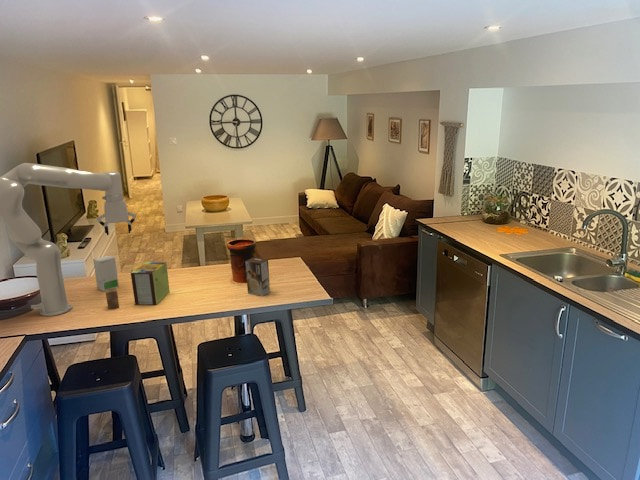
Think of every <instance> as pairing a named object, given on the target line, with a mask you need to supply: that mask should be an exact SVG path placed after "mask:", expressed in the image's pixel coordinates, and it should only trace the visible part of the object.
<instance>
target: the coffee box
mask: <svg viewBox="0 0 640 480" xmlns="http://www.w3.org/2000/svg"><path fill="white" fill-rule="evenodd" d="M245 262H246V275H247V284H246V285H247V286H246V287H247V293H248V294H251V295H256V296H261V297H264V296H265V295H268V294H269V293H271V288H270V284H271V283H270V273H269V270H270V269H269V259H265V258H257V257H254V258H251V259H249V260H247V261H245Z"/></svg>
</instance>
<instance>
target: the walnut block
mask: <svg viewBox="0 0 640 480" xmlns="http://www.w3.org/2000/svg"><path fill="white" fill-rule="evenodd" d="M105 297H106V304H107V310H108V311H109V310H115V309H116V310H117V309H120V302H119V295H118V290H117V288H112V289H106V291H105Z"/></svg>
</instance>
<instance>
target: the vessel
mask: <svg viewBox="0 0 640 480" xmlns="http://www.w3.org/2000/svg"><path fill="white" fill-rule="evenodd" d="M256 246H257V243H256V241H255V240H253V239H250V238H237V239H231V240H229V241H227V243H226V248H227V249H228V250H229V254H230V255H229V256H230V257H229V259H230V265H231V266H230V268H231V273H232V274H231V275H232V278H231V279H230V280H231V282H232V283H233V284H236V285H247V275H246V262H245V261H247V260H249V259H251V258H255V257H254V255H255V253H256V251H255V249H256Z"/></svg>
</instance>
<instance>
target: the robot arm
mask: <svg viewBox="0 0 640 480" xmlns="http://www.w3.org/2000/svg"><path fill="white" fill-rule="evenodd" d="M28 185H35V186H36V185H37V186H46V187H47V186H48V187H55V188H56V187H57V188H65V189H66V188H67V189H79V190H80V189H83V190H89V191H90V190H91V191H99V192H104V196H102V197H101V199H102V200H104V203H103V204H104V205H103V211H104V213H103V214H101V215H100V216H98V217H96V220H97V222H98V223H99V224H100V225H102V226H103V228H104V234H106V236H109V235H110V234H109V233H110V232H109V226H108V225H109V224H115V223H127V228H128V229H127V230H128V234H130V233H131V232H132V224H133V223H134V222H135V219H136V218H137V214H135V213H132V212H130V211H128V206H127V203H126V200H125V199H124V196H123V195H124V194H123V185H122V178H121V173H120V172H119V171H105V172H90V171H84V170H78V169H73V168H69V167H68V168H67V167H61V166H56V165H55V166H54V165H47V164H39V163H32V162H31V163H30V162H24V163H20V164H19V165H17V166H15V167H14V168H12V169H10V170H9V171H8V172H6V173H4V174H3V175H1V176H0V219H1V220H2V222H3V223H4V224H5V226H7V229H6V233H7V235H8V238H9V239H10V241H12V243H14V245H15V246H16V247H17V248H18V249H19V250H20V251H21V252H22V253H23V254H24V256H26V257H27V258H28V259H30V260H33V261H35V262H36V269H35V270H36V271H35V272H36V279H37V283H38V287H39V293H40V294H39V295H40V298H41V302H39V303H38V304H31V305H30V309H31V310H33V311H35V312H36V311H39V315H41V316H44V317H54V316H59V315H63V314H65V313H67V312H69V311H71V310H72V309H73V305H72V304H71V303H70V302H68V298H67V293H66V287H65V282H64V277H63V276H64V275H63V271H62V254H61V249H60V248H59V246H58V245H56V243H54V242H52V241H49V240H45V239H43V238H42V236H43V234H42V229H40V227H39V226H38V224H37V223H36V222H35V221H34V220H33V219H32V218H31V217H30V215H28V213H27V212H26V210H24V208H23V199H24V196H25V189H24V188H25V187H26V186H28ZM129 216H130V217H132V218H131V219H129ZM102 219H104V220H105V222H104V221H102Z"/></svg>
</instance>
